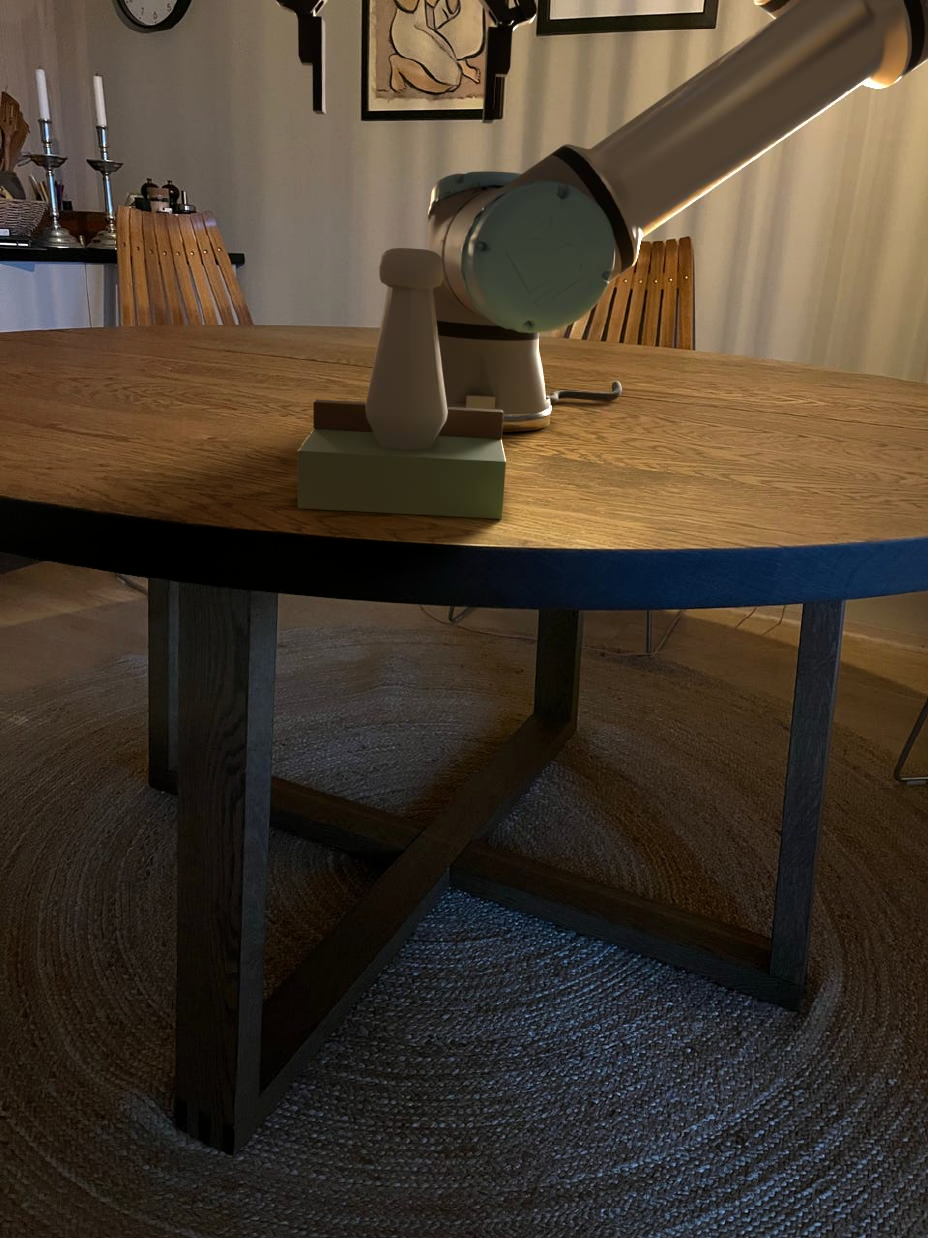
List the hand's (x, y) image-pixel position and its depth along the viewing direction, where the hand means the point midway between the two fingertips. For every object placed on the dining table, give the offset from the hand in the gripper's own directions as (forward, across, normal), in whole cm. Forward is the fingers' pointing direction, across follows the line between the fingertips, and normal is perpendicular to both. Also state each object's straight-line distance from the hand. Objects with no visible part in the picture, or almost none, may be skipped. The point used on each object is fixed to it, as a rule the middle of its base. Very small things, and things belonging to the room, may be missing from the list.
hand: (403, 117), depth 80 cm
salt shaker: (+23, -1, +20) cm, 30 cm away
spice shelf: (+26, -1, +19) cm, 33 cm away
